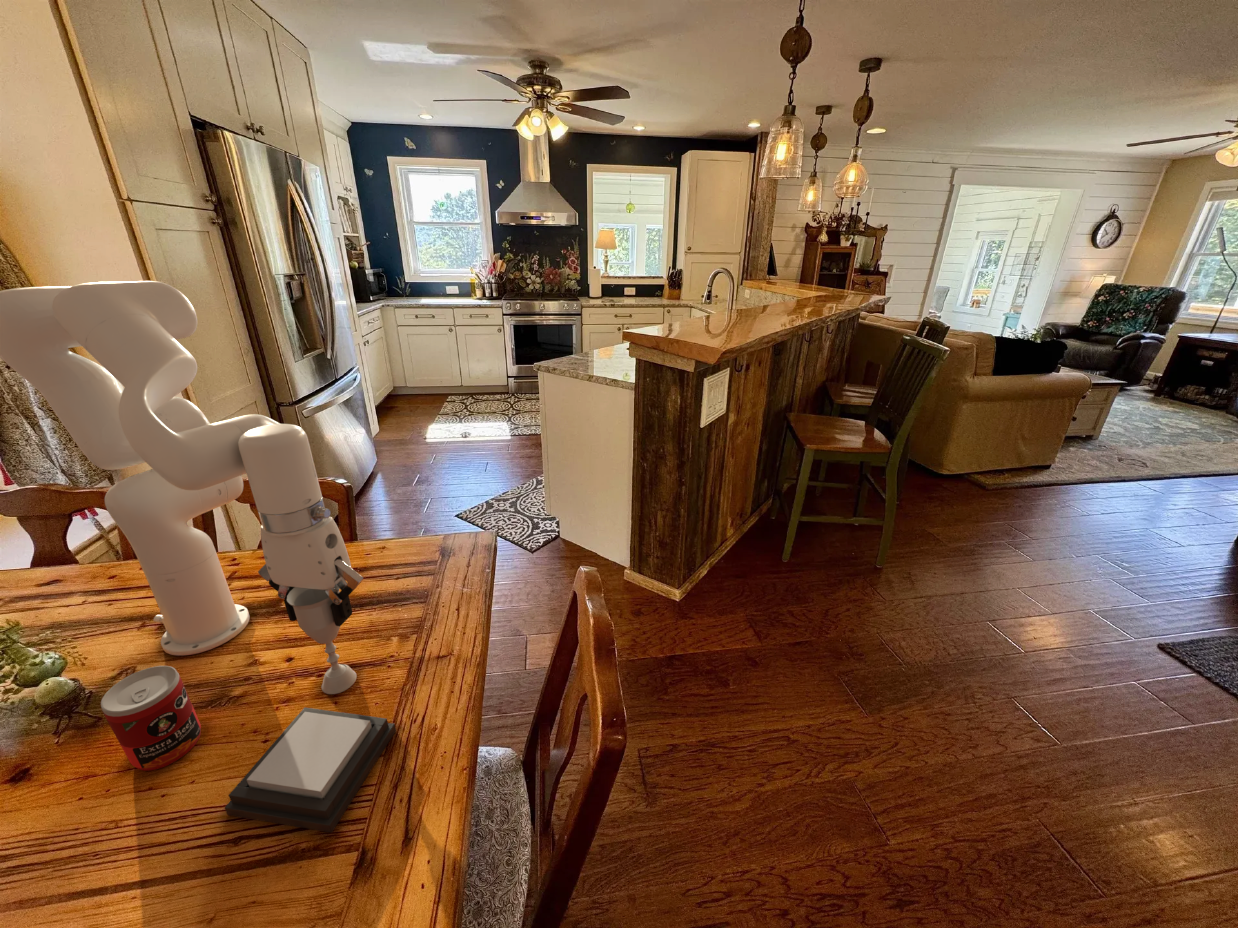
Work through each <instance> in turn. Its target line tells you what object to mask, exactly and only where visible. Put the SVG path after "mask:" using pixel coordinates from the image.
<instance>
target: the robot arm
mask: <svg viewBox="0 0 1238 928" xmlns="http://www.w3.org/2000/svg"><path fill="white" fill-rule="evenodd" d="M198 321H199V319H198V315H197V312H196V310H195V308H194V306H193V304H192V303H191V301H190V300H189V298H187V296H186V295H185V294H184V293H183V292H181V291H180V290H179V289H177V288H176V287H174V286H172V285H170V284H169V283H165V282H163V281H157V280H137V281H136V280H135V281H98V282H95V281H94V282H85V283H79V284H73V285H70V286H69V285H68V286H66V285H65V286H64V285H63V286H62V285H61V286H31V287H29V286H28V287H17V288H11V289H10V288H9V289H3V290H0V359H1V360H2V361H3V362H5V363H6V365H8V366H9V367H10V368H11V369H12V370H13V371H15V372H16V373H17V374H18V375H20V376H21V377H22V378H23V379H24V380H25V381H27V382H28V383H29V384H31V385H32V387H34V388H35V389H36V390H37V391H39V393H40V394H41V396H42V397H43V398H44V399H45V400H46V402H47V403H48V405H49V407H50V408H51V409H52V411H53V412H54V414H55V415H56V416H57V418H58V420H59V422H61V424H62V425H63V427H64V428H65V429H66V431H67V432H68V434H69V435H70V437H71V438H72V440H73V441H74V443H75V444H76V446H77V447H78V448H79V449H80V451H81V452H82V454H83V455H84V456H85V457H86V458H87V460H88V461H89V462H90V463H91V464H92V465H94V466H96V467H97V468H98V469H102V470H104V471H105V470H106V471H117V470H122V469H123V470H124V469H128V468H132V467H135V466H138V465H142V464H147V465H148V466H149V467H150V468H151V469H148V470H144V471H142V472H139V473H135V474H133V475H130V476H127V477H126V478H123V479H121V480H119V481H118V482H116V483H115V484H113V485H112V486H110V488H109V489H108V490H107V492H106V493H105V496H104V505H105V508H106V510H107V512H108V514H109V516H110V518H112V520H113V521H114V522H115V524H116V526H118V528H119V529H120V531H121V532H122V534H123V535H124V536H125V538H126V539H127V542H128V543H129V544H130V546H131V548H132V550H133V552H134V554H135V557H136V559H137V560H138V563H139V565H140V568H141V569H142V572H143V574H144V576H145V579H146V581H147V583H148V586H149V588H150V590H151V593H152V595H153V597H154V599H155V602H156V604H157V607H158V609H159V613H160V614H156V615H155V616H154V617H153V619H152V620H153V622H154V623H158V624H163V626H164V628H165V632H164V633H163V635H162V636H161V639H160V646H161V648H162V650H163V651H164V652H165V653H166V654H169V655H170V656H180V657H181V656H191V655H196V654H200V653H201V654H202V653H204V652H207V651H210V650H212V649H215V648H217V647H220V646H222V645H223V644H225V643H227V642H228V641H231V640H232V639H233V638H235V637H236V636H238V635H239V634H240V633H241V632H242V631H243V630H244V629H245V628H246V627H247V626H248V624H249V622H250V619H251V618H250V617H251V615H250V613H249V610H248V608H247V607H246V606H244V605H241V604H237V603H235V601H234V598H233V595H232V593H231V590H230V587H229V584H228V581H227V579H226V576H225V573H224V570H223V568H222V565H221V562H220V558H219V557H218V554H217V550H216V548H215V546H214V542H213V540H212V539H211V537H210V536H209V535H208V534H207V533H206V532H204V531H203V530H200V529H198V528H195V527H192V526H190V525H188V522H189V521H190V520H192V519H195V518H197V517H198V516H200V515H203V514H205V513H208V512H211V511H212V510H215V509H217V508H220V507H222V506H224V505H227V504H229V503H231V502H234V501H235V500H237V499H238V498H239V497H240V496H241V495H242V493H243V491H244V481H243V480H244V479H243V475H246V477H247V480H248V484H249V487H250V490H251V493H252V497H253V501H254V503H255V507H256V509H257V513H258V517H259V520H260V523H261V526H260V540H261V548H262V553H263V554H262V555H263V558H264V561H265V564H264V565H263V566H262V567H261V568H259V570H258V571H257V573H258V575H259V576H261V577H262V578H263V580H265V581H266V582H268V585H269V586H270V587H271V588H272V589H274V590H275V592H277V596H278V597H279V599H281V600H283V602H284V603H283V604H284V606H285V610H286V613H287V616H288V619H289V621H291V622H295V621H297V618H296V614H295V611H294V608H293V606H292V605H290V604H289V603H288V602H287V596H288V594H289V592H290V591H291V590H292V589H293V588H294V587H300V588H309V589H321V590H324V591H325V592H326V593H327V595H328V596H329V597H330V599H331V600H332V601H333V603H332V604H331V605H330V607H331V611H332V615H333V619H334V623H335V625H336V626H340V627H341V626H342V625H343V624H345V622H346V621H348V619H350V617H351V616H352V615H353V608H352V603H351V599H350V595H351V594H352V593H353V592H354V591H355V590H356V589H357V587H358V586H359V585H360V584H361V583H362V582H363V580H364V577H363V575H361V574H360V573H359V572H357V571H356V570H355V569H354V568H352V563H351V559H350V555H349V553H348V549H347V546H346V544H345V541H344V538H343V536H342V534H341V531H340V529H339V527H338V525H337V523H336V522H335V520H334V518H333V517H332V516H331V513H332V512H331V509H330V508H326V507H325V503H324V499H323V498H324V497H323V495H322V490H321V487H320V482H319V478H318V473H317V470H316V466H315V462H314V458H313V457H314V456H313V454H312V448H311V445H310V441H309V437H308V435H307V433H306V431H305V430H304V429H303V428H302V427H300V426H298V425H296V424H291V423H280V422H278V421H276V420H274V419H273V418H270V417H268V416H266V415H263V414H257V413H253V414H245V415H240V416H236V417H233V418H229V419H225V420H221V421H217V422H213V423H210V421H209V419H208V417H206V415H205V414H204V412H203V411H202V410H201V409H200V408H199V407H198V406H197V405H196V404H194V403H193V402H191V401H190V400H189V399H187V398H183V397H180V396H177V395H179V394H180V393H182V392H183V391H184V390H185V389H187V388H188V387H189V385H191V383H192V382H193V381H194V379H195V377H196V375H197V372H198V364H197V360H196V358H195V357H194V355H192V353H191V352H189V351H188V350H187V349H186V348H185V347H184V346H183V345H182V344H181V343H180V342H179V341H178V340H181V339H187V338H189V337H191V336H193V334H194V333H195V332H196V331H197V328H198V324H199V323H198ZM78 347H82V348H83V349H84V350H85V351H87V353H88V354H89V355H91V356H92V357H93V358H94V360H96V361H97V362H98V363H97V362H96V361H93V360H91V359H89V358H87V357H85V356H83V355H80V354H77V353H75V352H72V351H70V348H71V349H72V348H78ZM335 585H338V587H339V588H340V589H339V593H338V592H337V591H336V590H335V588H334V587H335Z"/></svg>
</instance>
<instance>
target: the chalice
mask: <svg viewBox="0 0 1238 928" xmlns="http://www.w3.org/2000/svg"><path fill="white" fill-rule="evenodd" d="M334 588H335V590H336V591H337V592H338V593H339V592H340V590H341V589H340V588H339V587H338V585H335V587H334ZM287 602H288V603H289V604H290V605H292V606H293V608H294V611H295V614H296V618H297V620H296V621H297V625H298V627H299V628H300V629H301V630H302V631H303V632H304V634H306V635H307V637H309V638H310V639H312V640H314V641H315V642H316V643H318V644H320V645H325V650H324V653H325V654H327V655H328V657H327V658H326V662H327V663H328V664H330V665H331V667H329V668H328V669H327V670H326V672H325V674H323V675H324V676H323V679H322V684H321V691H322V692H323V693H324V694H327V695H336V694H340V693H342V692H345V691H346V690H348V689H349V688H351V687H352V686H353V685H354V684H355V682H356V680H357V678H358V676H357V673H356V672H355V670H353V668H351V667H350V666H349V665H348V664H344V663H339V659H340V655H339V654H338V653H336V649H337V645H335V644H334V642H333V641H334V640H335V639H336V638H337V637H338V634H339V631H340V628H341V626H336V625H335V623H334V619H333V615H332V611H331V607H330V605H331V604H332V603H333V601H332V600H331V599H330V597H329V596H328V595H327V593H326V592H325V591H324V590H321V589H309V588H300V587H294V588H293V589H292V590H291V591H290V592H289V594H288V596H287Z"/></svg>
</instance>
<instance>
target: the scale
mask: <svg viewBox="0 0 1238 928" xmlns="http://www.w3.org/2000/svg"><path fill="white" fill-rule="evenodd" d="M304 712H310V713H317V714H325V715H332V716H339V717H346V718H353V719H361V720H368V721H370V722H371V726H372V729H371V731H370V732H369V733H368V735H367V736H366V738H365V739H364V741H363V742H362V744H361V745H360V747H359V748H358V750H357V751H356V752H355V754H354V755H353V757H352V758H351V760H350V761H349V763H348V764H347V766H346V767H345V769H344V770H343V772H342V773H341V774H340V776H339V777H338V779H337V780H336V782H335V783H334V785H333V786H332V788H331V789H330V791H329V792H328V793H327V795H326V796H325V798H324V799H323V800H321V799H315V798H309V797H303V796H296V795H290V794H284V793H278V792H272V791H266V790H259V789H253V788H250V787H249V784H248V782H247V779H248V778H249V776H250V775H251V774H252V773H253V772H254V771H255V769H256V768H257V767H258V766H259V765H260V764H261V762H262V761H263V760H264V759H265V758H266V757H267V755H268V754H269V753H270V752H271V751H272V750H273V748H274V747H275V746H276V745H277V744H278V743H279V741H280V740H281V739H282V738H283V737H284V736H285V734H286V733H287V732H288V731H289V730H290V729H291V727H292V726H293V725H294V724H295V723H296V722H297V720H298V719H299V718H300V717H301V716H302V715H303V713H304ZM396 732H397V729H396V724H395V723H393V722H388V718H384V717H377V716H371V715H363V714H357V713H349V712H343V711H342V712H341V711H333V710H327V709H319V708H313V707H307V706H306V707H305V706H304V707H303V708H302V710H301V711H300V712H299V713H298V714H297V715H296V717H295V718H294V719H293V720H292V721H291V722H290V724H289V725H287V727H286V728H285V729H284V730H283V731H282V732H281V734H280V735H279V736H278V737H277V739H276V740H275V741H274V742H273V743H272V744H271V745H270V747H269V748H268V749H267V750H266V751H265V752H264V754H263V755H262V756H261V757H260V758H259V759H258V760H257V762H256V763H255V764H253V766H252V767H251V768H250V769H249V771H248V772H247V773H246V774H245V776H244V777H243V778H242V779H241V780H240V781H239V782H238V783H237V785H236V786H235V787H234V788H233V789H232V791H231V792H230V793H229V794H228V797H229V801H228V803H227V804H226V805H225V806H224V811H225V813H226V815H227V816H231V817H237V818H243V819H249V820H255V821H261V822H266V823H271V824H272V823H273V824H278V825H285V826H290V827H295V828H296V827H297V828H302V829H308V830H313V831H318V832H325V833H332V834H333V832H334V830H335V829H336V827H337V826H338V824H339V822H340V821H341V819H342V817H343V816H344V814H345V813H346V811H347V809H348V808H349V806H350V804H351V803H352V801H353V800H354V798H355V797H356V795H357V794H358V792H359V790H360V789H361V787H362V786H363V784H364V783H365V781H366V779H367V778H368V776H369V775H370V773H371V772H372V770H373V768H374V766H375V765H376V763H377V762H378V760H379V758H381V755H382V754H383V752H384V751H385V749H386V748H387V746H388V744H389V743H390V741H391V740H392V738H393V737H394V735H395V733H396Z"/></svg>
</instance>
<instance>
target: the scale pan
mask: <svg viewBox="0 0 1238 928" xmlns="http://www.w3.org/2000/svg"><path fill="white" fill-rule="evenodd" d="M371 729H372V726H371V722H370V721H368V720H361V719H353V718H346V717H339V716H332V715H325V714H317V713H310V712H304V713H303V715H302V716H301V717H300V718H299V719H298V720H297V722H296V723H295V724H294V725H293V726H292V727H291V729H290V730H289V731H288V732H287V733H286V734H285V736H284V737H283V738H282V739H281V740H280V741H279V743H278V744H277V745H276V746H275V747H274V748H273V750H272V751H271V752H270V753H269V754H268V755H267V757H266V758H265V759H264V760H263V761H262V762H261V764H260V765H259V766H258V767H257V768H256V769H255V771H254V772H253V773H252V774H251V775H250V776H249V778H248V779H247V782H248V784H249V787H250V788H253V789H259V790H266V791H272V792H278V793H284V794H290V795H296V796H303V797H309V798H315V799H321V800H323V799H324V798H325V796H326V795H327V793H328V792H329V791H330V789H331V788H332V786H333V785H334V783H335V782H336V780H337V779H338V777H339V776H340V774H341V773H342V772H343V770H344V769H345V767H346V766H347V764H348V763H349V761H350V760H351V758H352V757H353V755H354V754H355V752H356V751H357V750H358V748H359V747H360V745H361V744H362V742H363V741H364V739H365V738H366V736H367V735H368V733H369V732H370V731H371Z"/></svg>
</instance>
